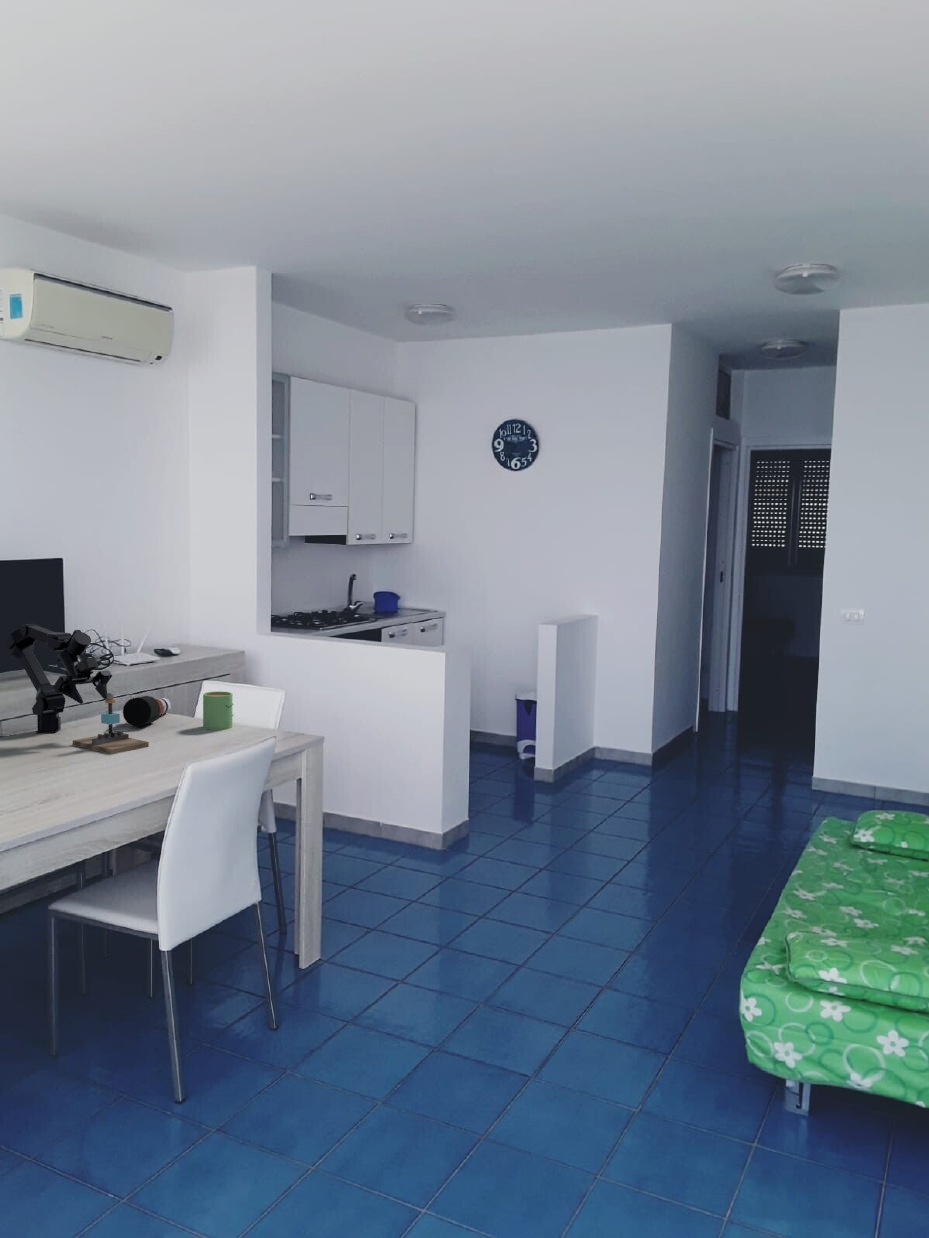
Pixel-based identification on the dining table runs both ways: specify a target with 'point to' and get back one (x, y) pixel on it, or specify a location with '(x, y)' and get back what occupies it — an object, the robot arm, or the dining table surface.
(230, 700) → the mug
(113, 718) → the sleeve
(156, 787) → the dining table surface
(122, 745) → the wooden base post stand
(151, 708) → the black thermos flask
